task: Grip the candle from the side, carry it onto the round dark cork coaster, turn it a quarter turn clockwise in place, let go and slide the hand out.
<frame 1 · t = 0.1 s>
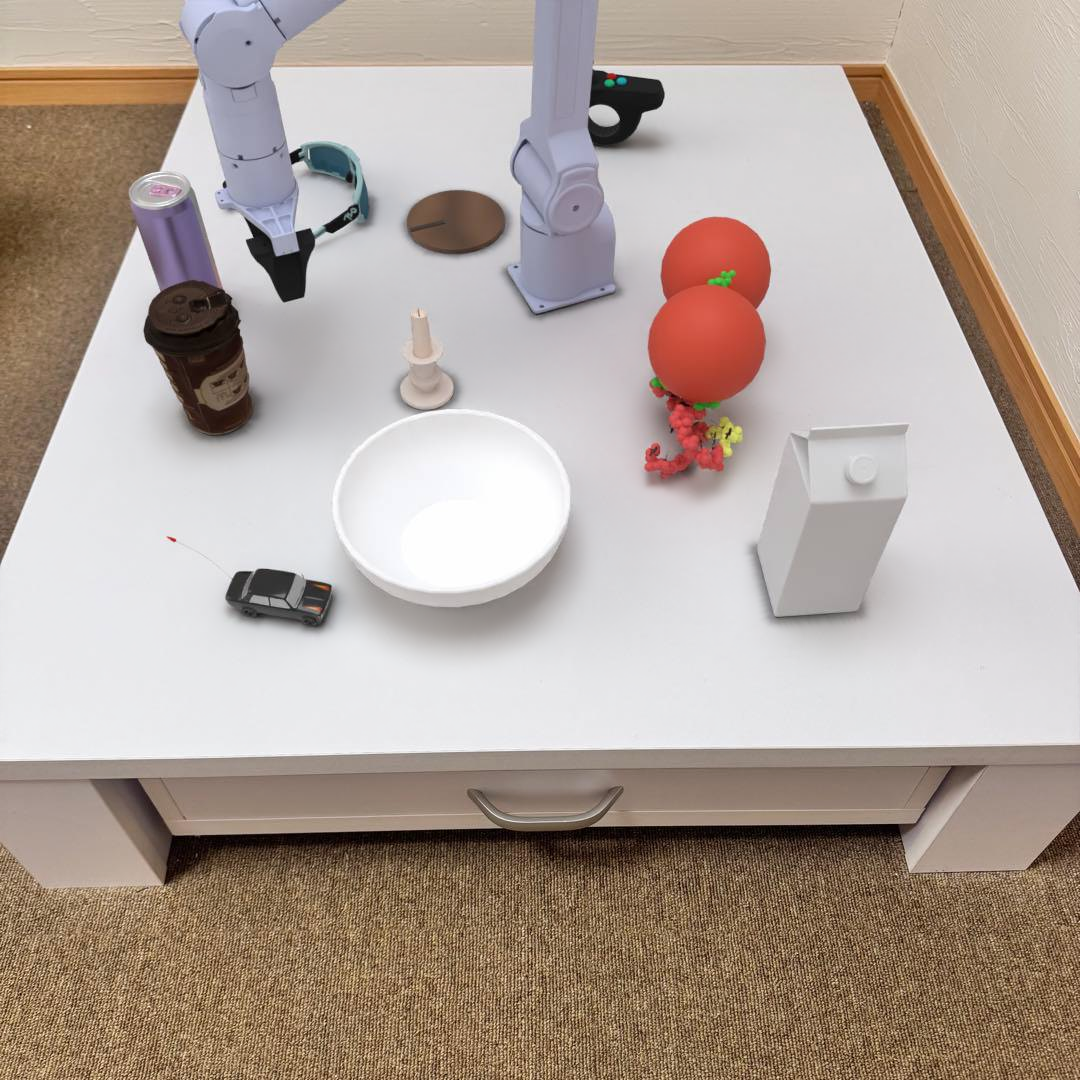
hand: (282, 273, 99), 10 cm above the table, tool pointing down, fingers open, 7 cm apart
coffee cup: (223, 413, 102), on the table
bowl: (457, 547, 93), on the table
milk carton: (805, 581, 90), on the table
sunglasses: (305, 211, 122), on the table
toy car: (262, 602, 89), on the table
controller: (609, 143, 130), on the table
coaster: (456, 223, 120), on the table
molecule: (697, 398, 104), on the table
beverage can: (200, 315, 111), on the table
candle: (427, 392, 104), on the table
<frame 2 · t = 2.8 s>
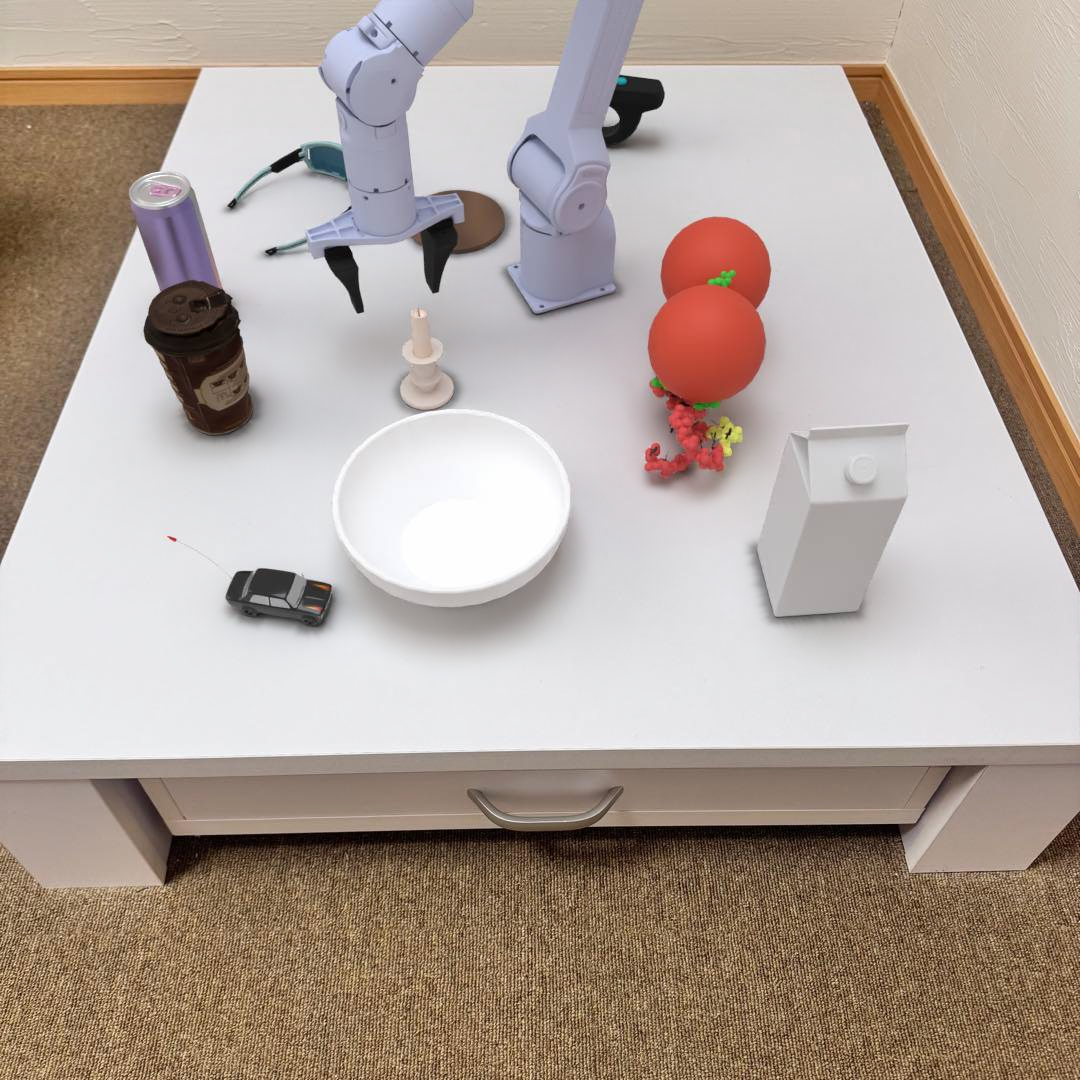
hand: (395, 296, 104), 6 cm above the table, tool pointing down, fingers open, 7 cm apart
nothing on the table moved.
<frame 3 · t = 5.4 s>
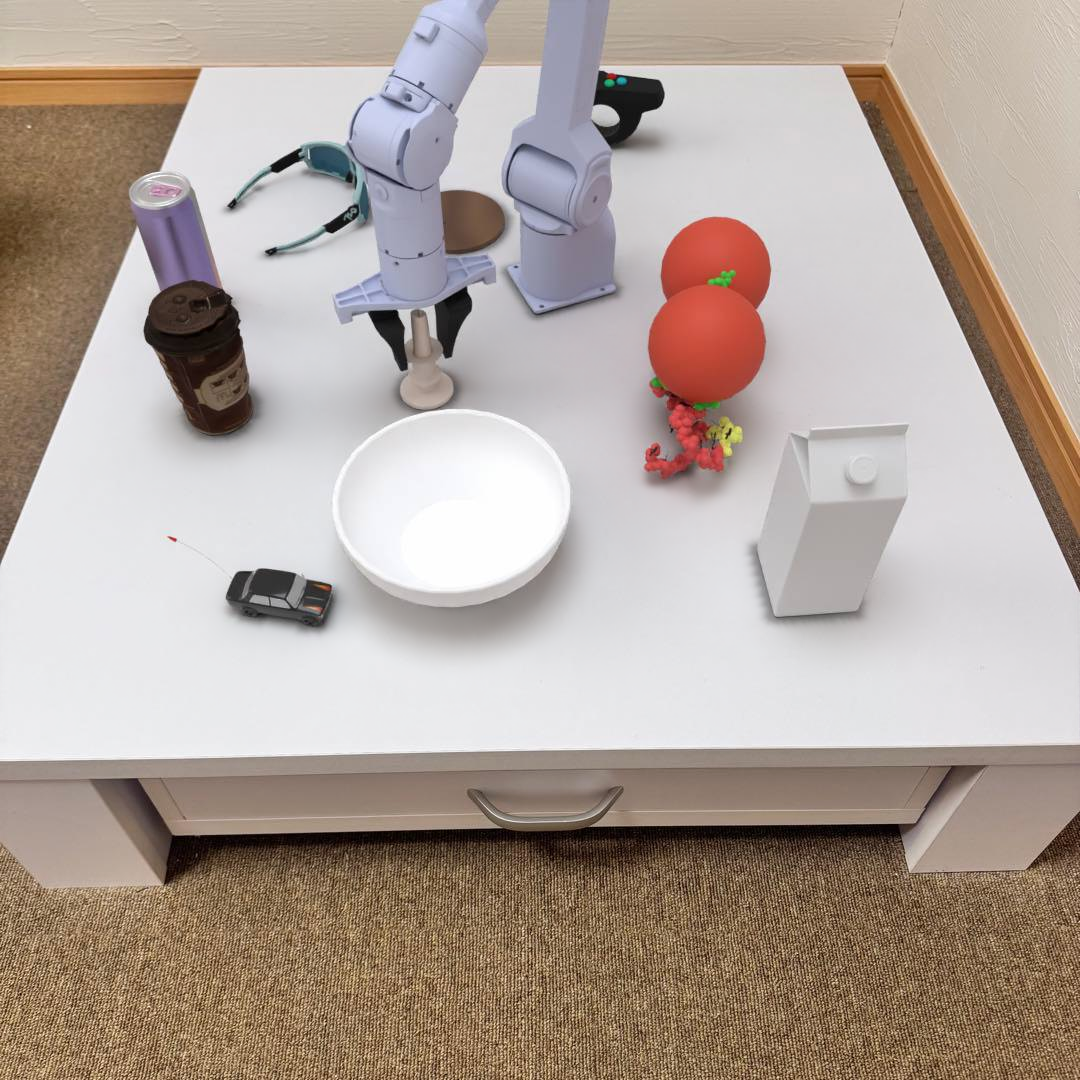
hand: (423, 357, 100), 4 cm above the table, tool pointing down, fingers closed on candle, 4 cm apart
candle: (427, 392, 104), on the table, touching gripper
everything else where it was.
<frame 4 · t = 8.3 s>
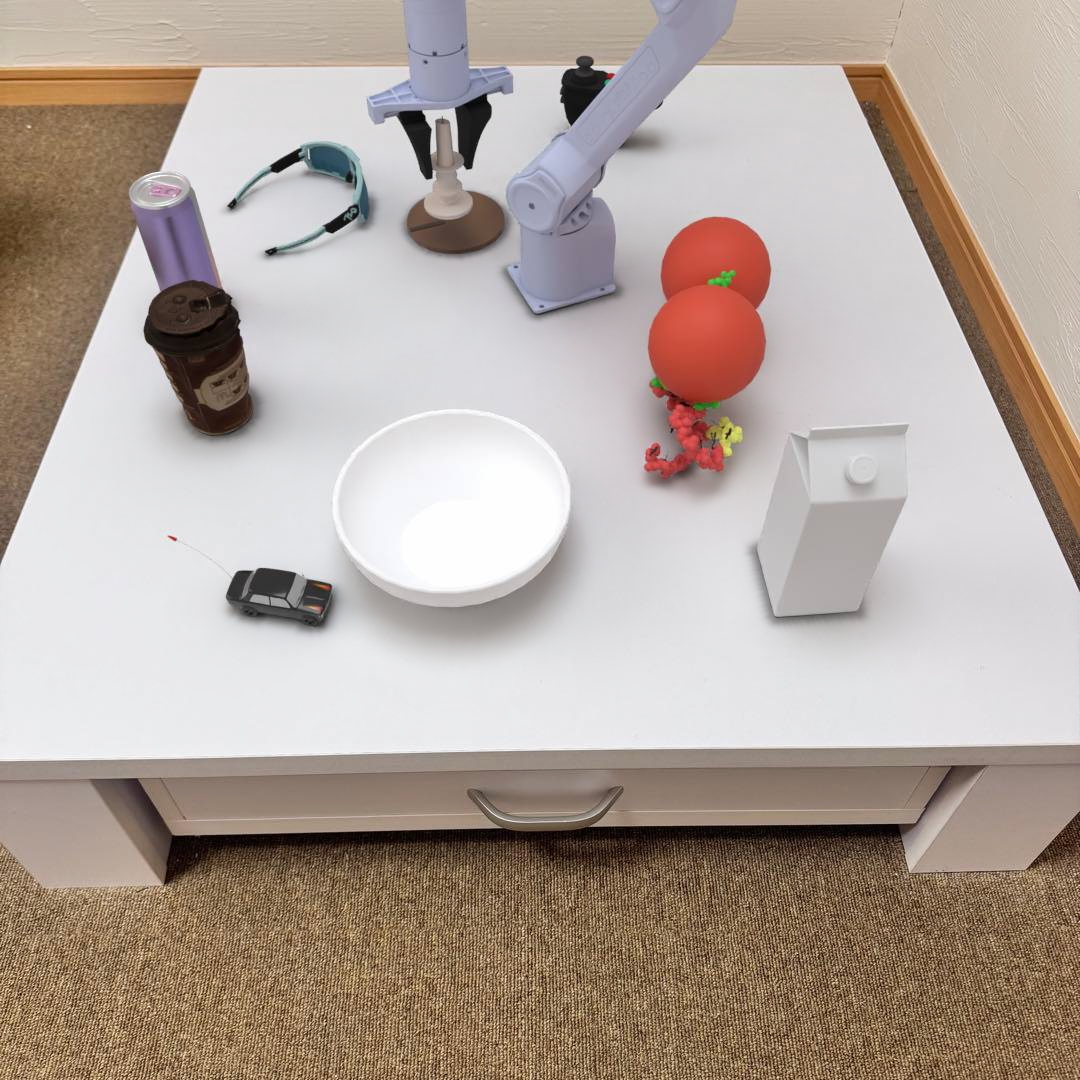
hand: (446, 169, 110), 9 cm above the table, tool pointing down, fingers closed on candle, 4 cm apart
candle: (448, 206, 114), point 5 cm above the table, touching gripper
everything else where it was.
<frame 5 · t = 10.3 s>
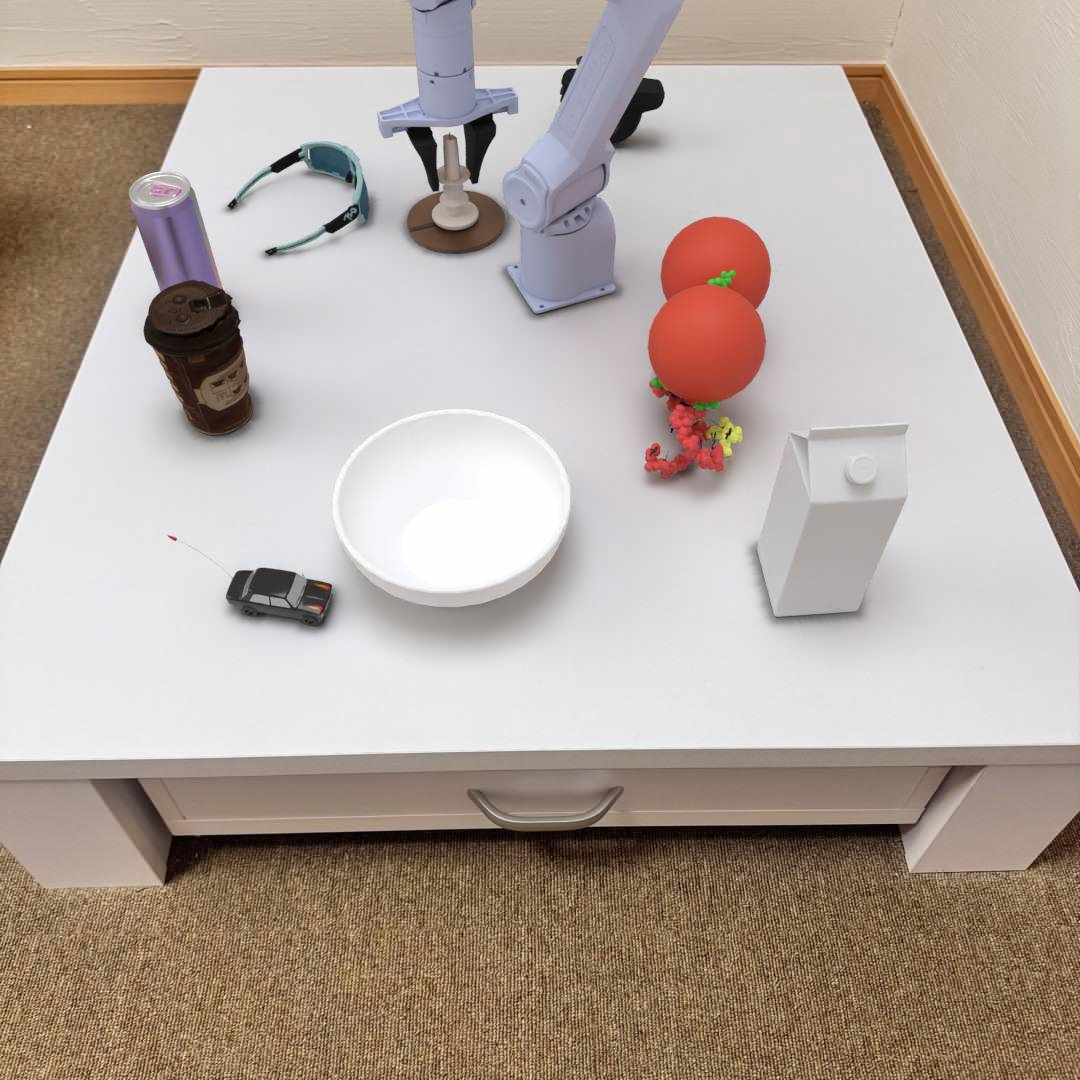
hand: (453, 182, 116), 5 cm above the table, tool pointing down, fingers closed on candle, 4 cm apart
candle: (455, 217, 120), point 1 cm above the table, touching gripper
everything else where it was.
when the fingers open (5 cm above the table, at t = 11.7 s): candle stays where it is, resting on coaster.
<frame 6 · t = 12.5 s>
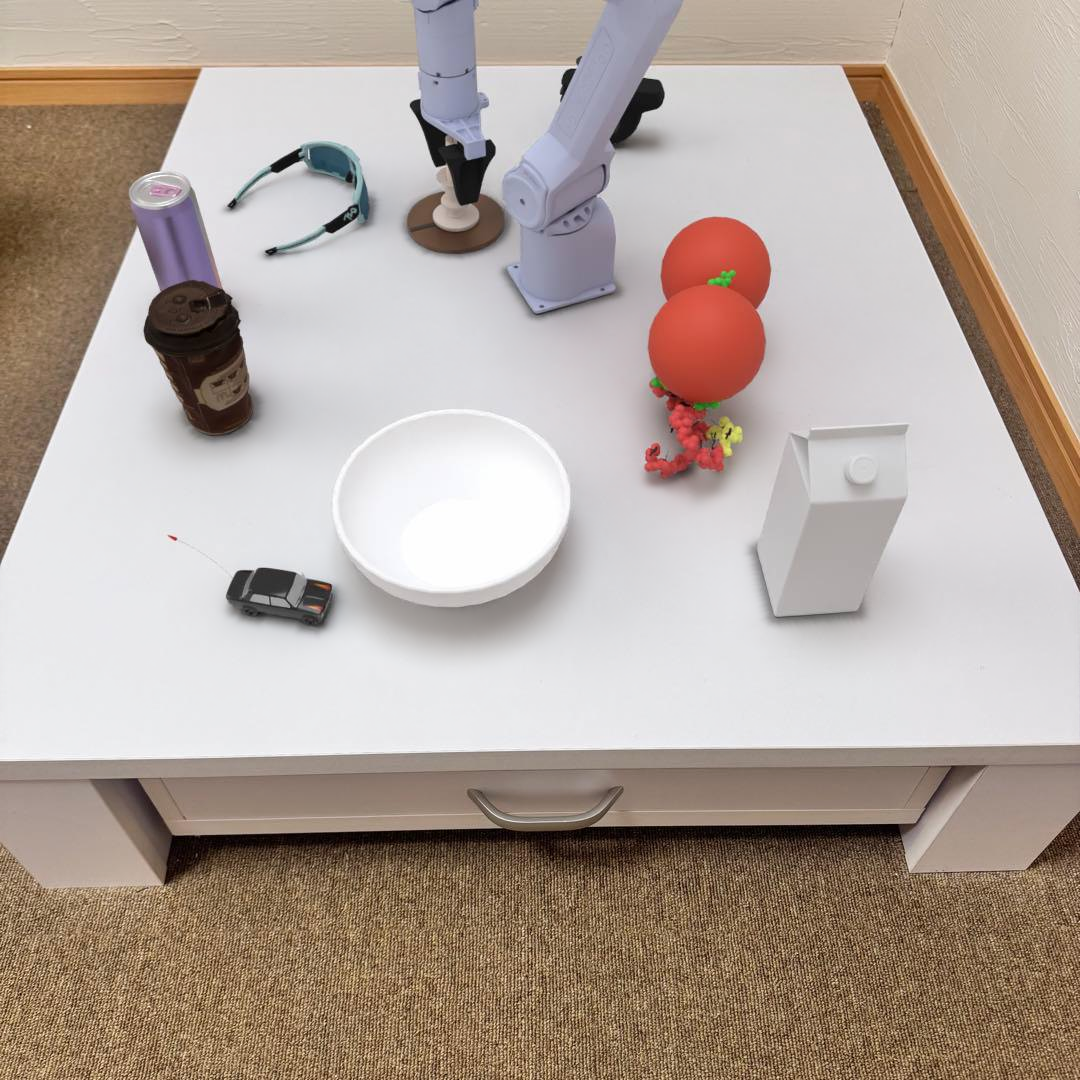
hand: (455, 182, 116), 5 cm above the table, tool pointing down, fingers open, 7 cm apart
candle: (456, 219, 120), resting on coaster
everything else where it was.
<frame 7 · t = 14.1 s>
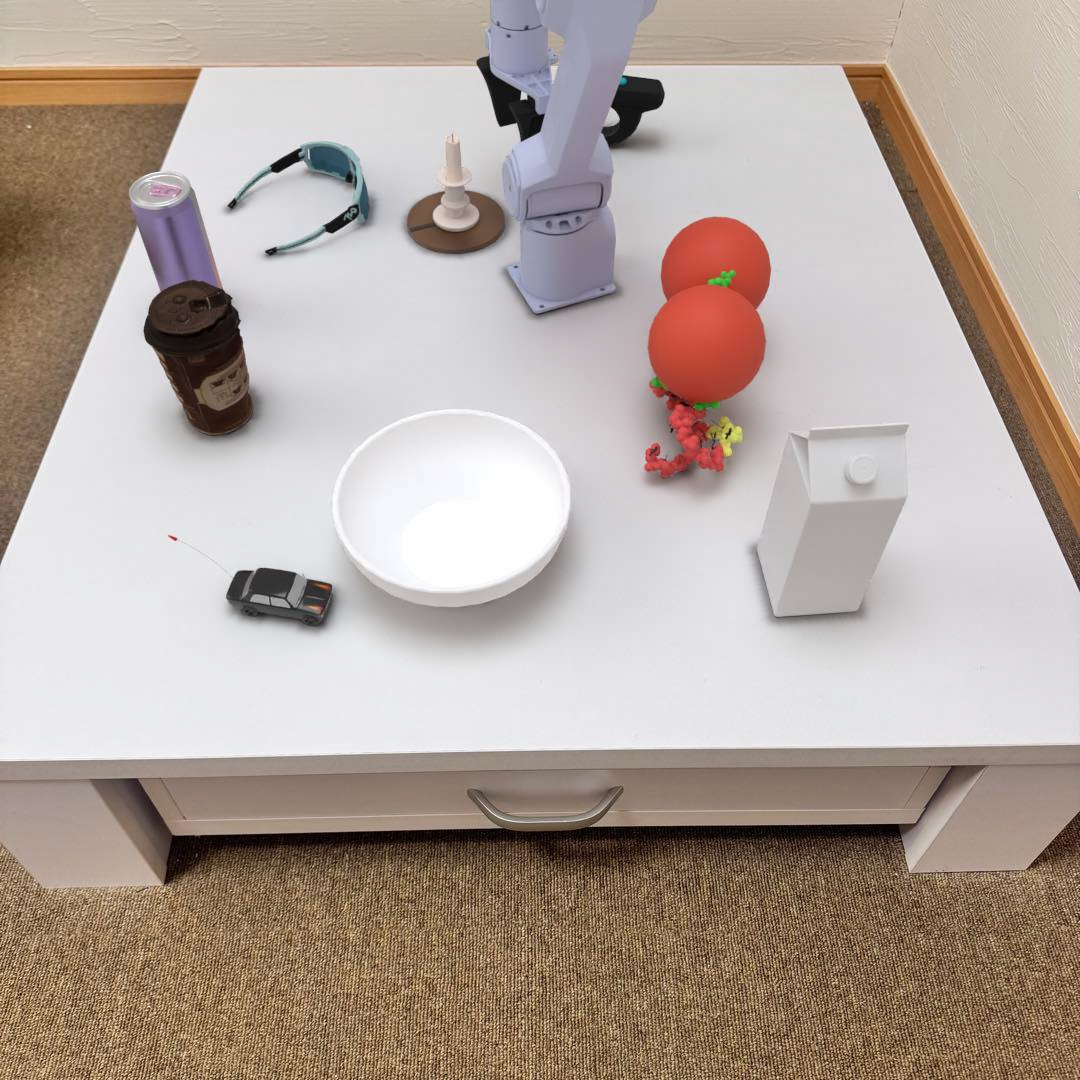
hand: (520, 141, 116), 8 cm above the table, tool pointing down, fingers open, 7 cm apart
nothing on the table moved.
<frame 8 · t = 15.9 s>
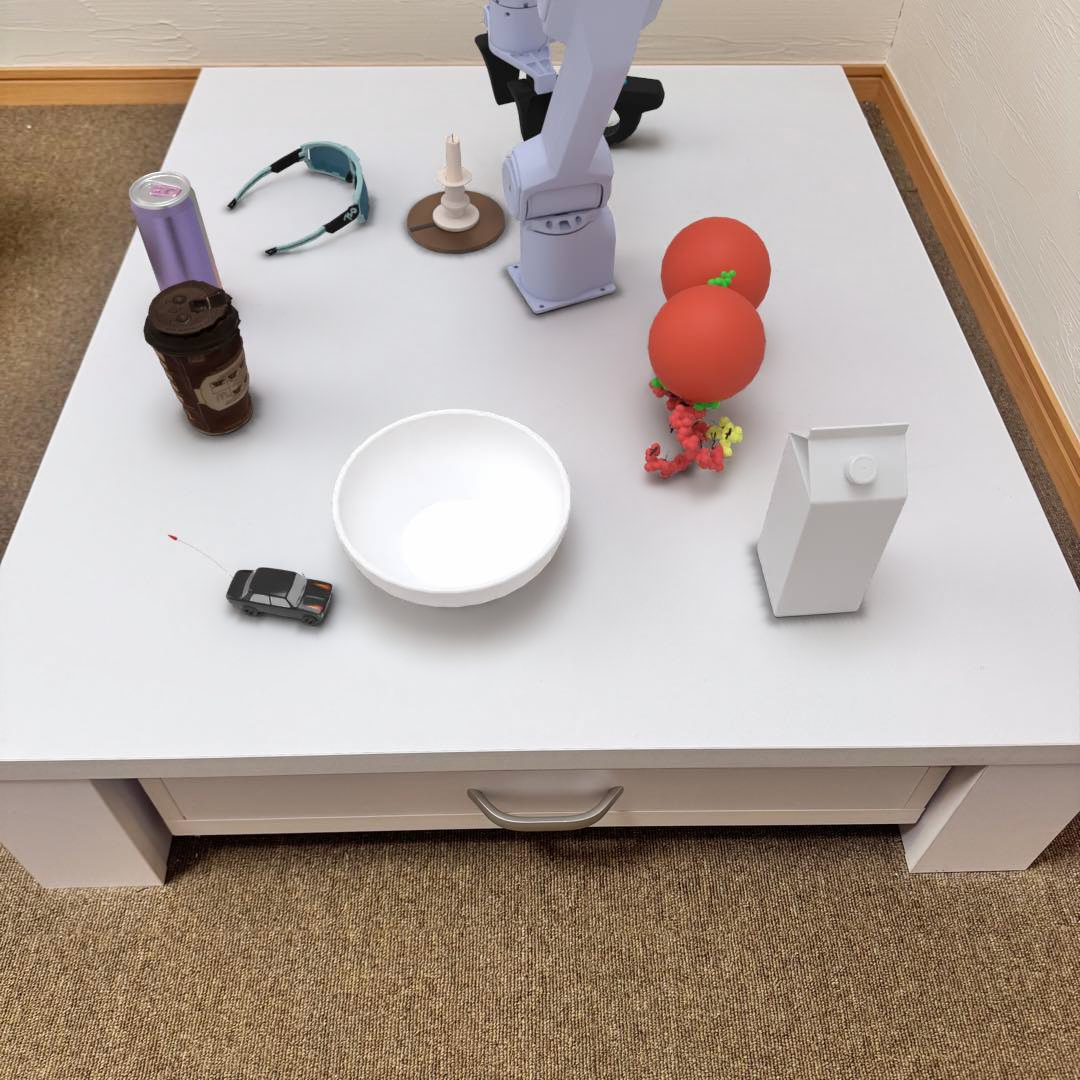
hand: (519, 120, 114), 10 cm above the table, tool pointing down, fingers open, 7 cm apart
nothing on the table moved.
at the end: candle 0.0 cm off-centre on the coaster, point 0.5 cm above the coaster's base; candle tilted 1°; the gripper is holding nothing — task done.
